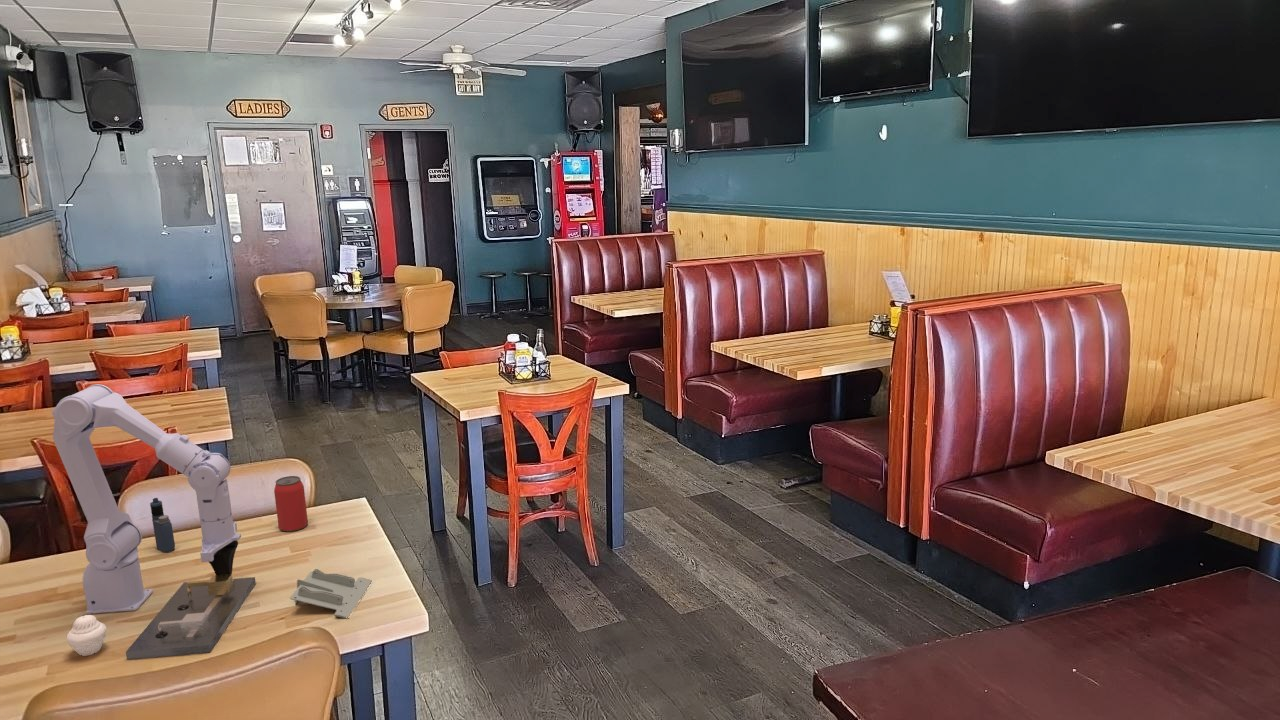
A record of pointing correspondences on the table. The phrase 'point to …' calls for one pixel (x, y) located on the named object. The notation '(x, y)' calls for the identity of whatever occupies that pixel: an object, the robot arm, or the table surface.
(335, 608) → the metal bracket
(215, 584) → the brass slider
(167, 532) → the vaping device
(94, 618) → the muffin
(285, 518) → the beer can
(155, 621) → the plate
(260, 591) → the table surface
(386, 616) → the table surface
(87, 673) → the table surface
